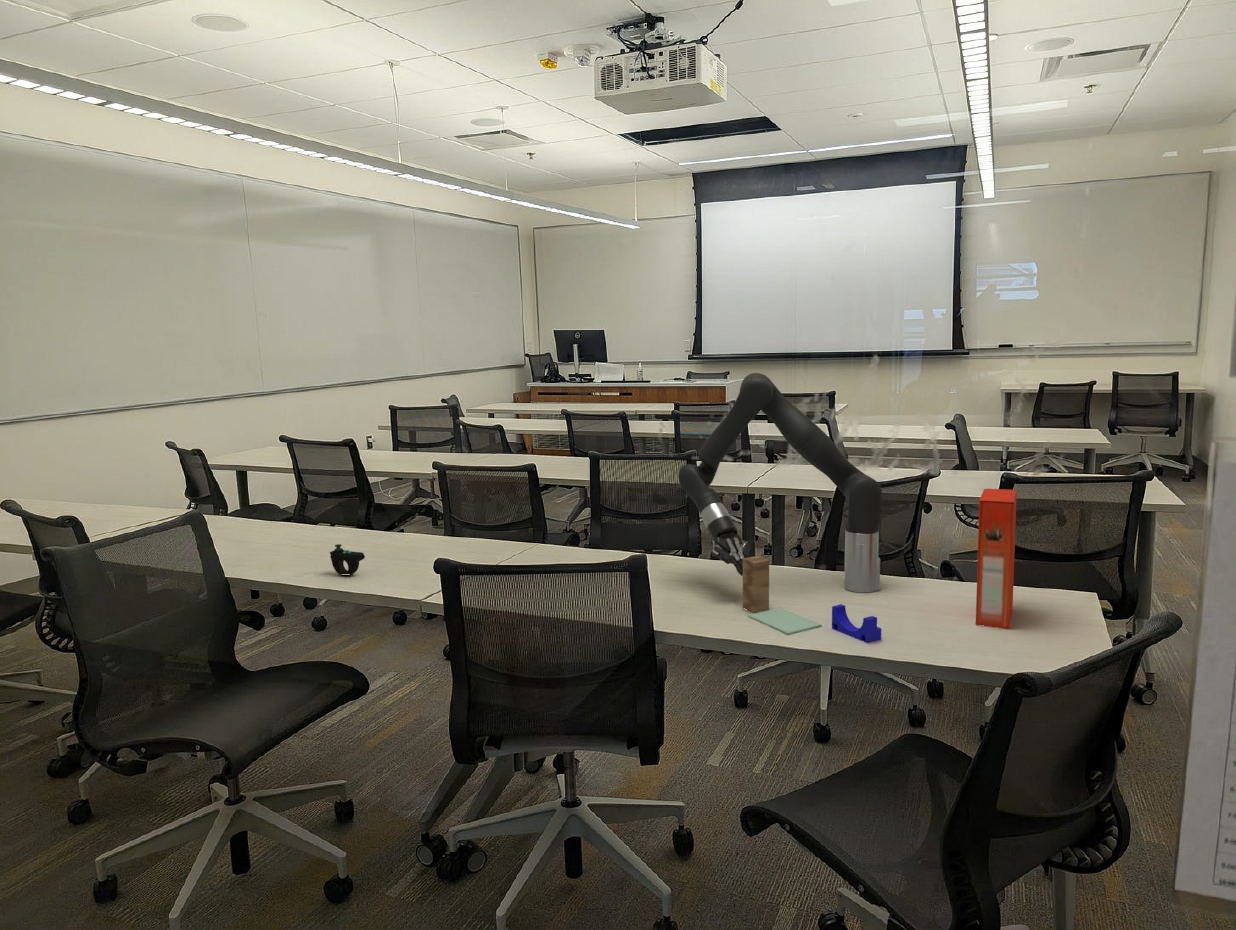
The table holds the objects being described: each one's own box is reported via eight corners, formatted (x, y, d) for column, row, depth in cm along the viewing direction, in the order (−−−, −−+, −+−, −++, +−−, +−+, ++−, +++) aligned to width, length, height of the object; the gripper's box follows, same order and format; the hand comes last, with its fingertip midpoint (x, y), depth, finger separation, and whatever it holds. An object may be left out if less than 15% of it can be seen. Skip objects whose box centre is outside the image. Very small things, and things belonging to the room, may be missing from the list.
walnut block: (742, 608, 219) (742, 558, 217) (757, 605, 221) (757, 556, 219) (754, 613, 214) (754, 562, 212) (769, 610, 217) (769, 560, 215)
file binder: (974, 624, 202) (979, 499, 197) (979, 604, 217) (984, 488, 212) (1009, 629, 198) (1015, 502, 193) (1012, 608, 213) (1018, 490, 208)
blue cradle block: (881, 640, 194) (881, 616, 193) (867, 643, 192) (868, 619, 191) (845, 625, 204) (845, 603, 203) (831, 629, 202) (832, 606, 201)
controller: (338, 572, 266) (336, 542, 264) (368, 575, 261) (366, 545, 259) (329, 575, 262) (326, 545, 260) (359, 579, 257) (356, 548, 255)
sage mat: (747, 616, 212) (747, 614, 212) (780, 609, 217) (780, 607, 217) (788, 634, 198) (788, 632, 198) (821, 626, 203) (821, 624, 203)
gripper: (704, 517, 224) (731, 570, 215) (742, 512, 230) (770, 563, 221) (694, 532, 229) (719, 584, 220) (731, 526, 235) (758, 577, 227)
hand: (745, 573), depth 221 cm, fingers closed
